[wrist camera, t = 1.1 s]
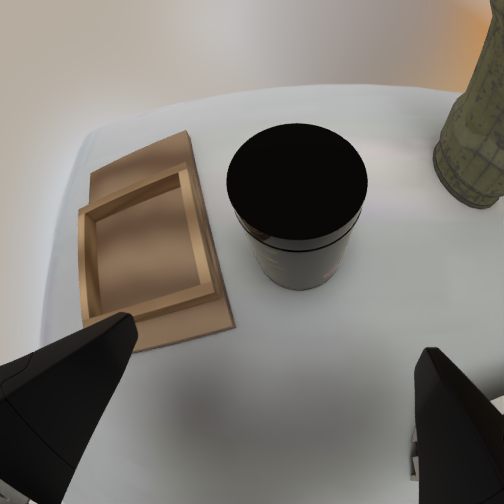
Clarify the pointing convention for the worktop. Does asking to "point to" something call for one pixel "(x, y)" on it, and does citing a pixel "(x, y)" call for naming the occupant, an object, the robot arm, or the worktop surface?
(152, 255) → the board
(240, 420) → the worktop surface
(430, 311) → the worktop surface
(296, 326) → the worktop surface
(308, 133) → the supplement container
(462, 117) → the thermos
